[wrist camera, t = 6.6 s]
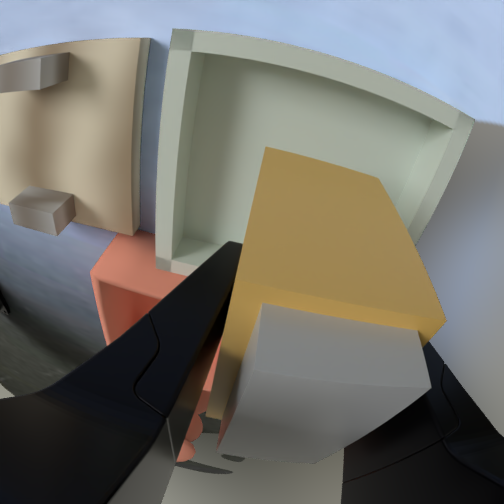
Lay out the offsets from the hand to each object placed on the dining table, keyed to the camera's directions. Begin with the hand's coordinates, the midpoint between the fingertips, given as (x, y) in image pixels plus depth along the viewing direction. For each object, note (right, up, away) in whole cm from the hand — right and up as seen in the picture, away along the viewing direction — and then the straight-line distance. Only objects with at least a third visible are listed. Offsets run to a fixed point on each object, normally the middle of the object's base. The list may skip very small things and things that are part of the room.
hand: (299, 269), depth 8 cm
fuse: (0, +1, +1) cm, 2 cm away
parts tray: (+1, +4, +5) cm, 7 cm away
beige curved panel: (-12, +7, +5) cm, 14 cm away
